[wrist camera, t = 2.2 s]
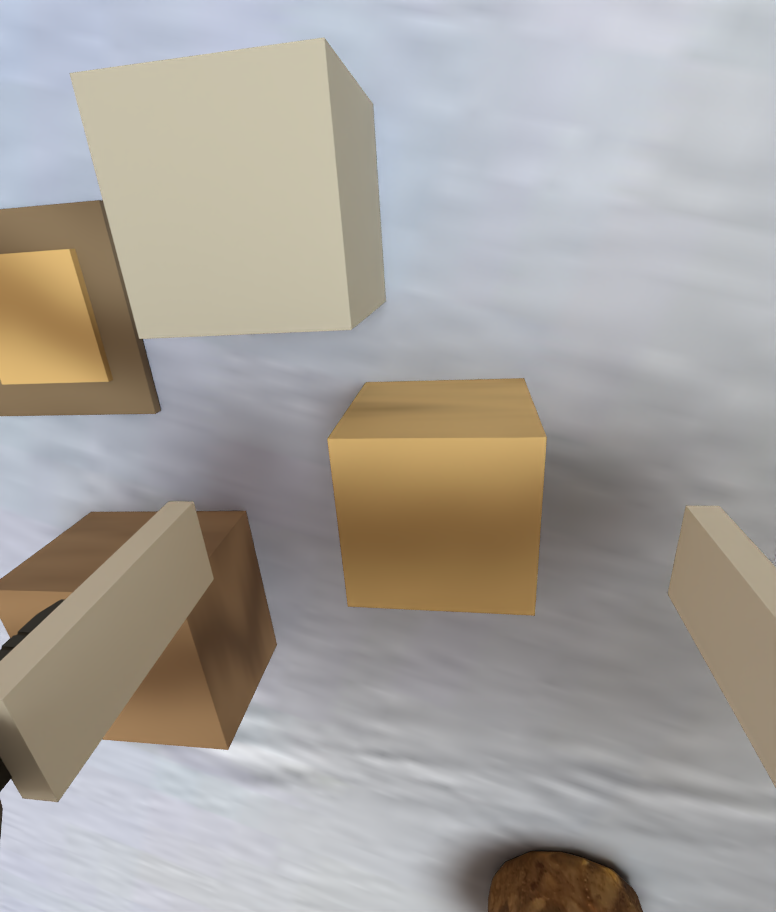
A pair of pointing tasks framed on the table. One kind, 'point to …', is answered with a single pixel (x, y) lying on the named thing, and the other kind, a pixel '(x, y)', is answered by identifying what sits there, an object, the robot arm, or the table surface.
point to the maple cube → (440, 495)
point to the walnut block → (195, 643)
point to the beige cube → (239, 190)
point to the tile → (67, 317)
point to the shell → (559, 886)
